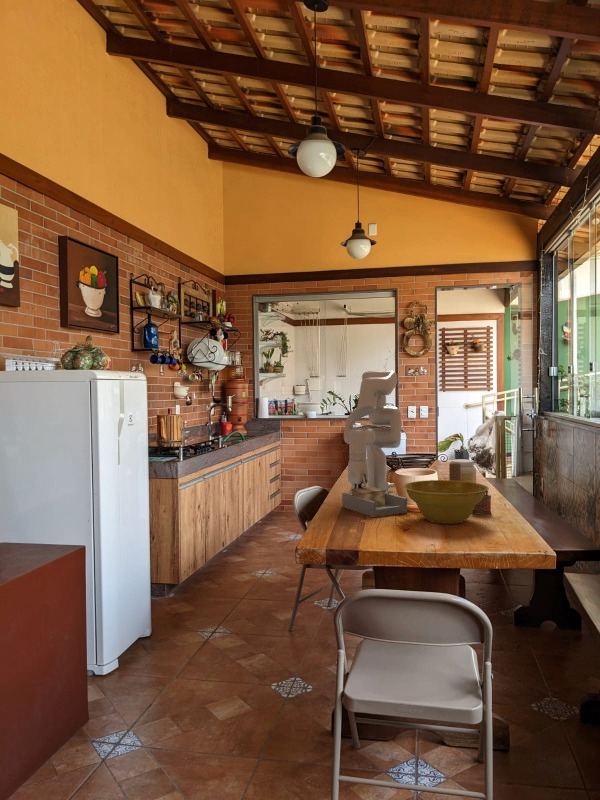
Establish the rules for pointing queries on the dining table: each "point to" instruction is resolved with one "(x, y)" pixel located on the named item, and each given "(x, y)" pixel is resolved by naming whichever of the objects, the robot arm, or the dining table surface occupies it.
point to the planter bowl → (445, 499)
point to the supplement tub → (467, 470)
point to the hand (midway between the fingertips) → (358, 498)
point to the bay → (369, 507)
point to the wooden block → (455, 471)
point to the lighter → (483, 505)
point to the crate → (371, 494)
